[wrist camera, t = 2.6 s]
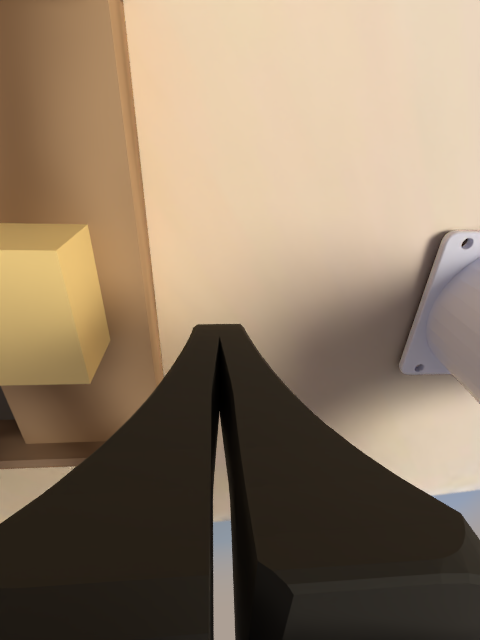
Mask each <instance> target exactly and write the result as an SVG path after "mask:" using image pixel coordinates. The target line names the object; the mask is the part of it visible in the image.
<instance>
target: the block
mask: <svg viewBox="0 0 480 640" xmlns="http://www.w3.org/2000/svg"><path fill="white" fill-rule="evenodd" d="M109 342H110V335H109V330H108V325H107V320H106V315H105V310H104V305H103V300H102V295H101V290H100V285H99V280H98V275H97V269H96V264H95V259H94V254H93V249H92V244H91V239H90V234H89V229H88V224H22V223H0V386H6V385H56V384H90V383H91V381H92V379H93V377H94V375H95V373H96V370H97V368H98V366H99V364H100V362H101V360H102V357H103V355H104V353H105V351H106V349H107V347H108V345H109Z"/></svg>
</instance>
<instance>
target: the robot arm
mask: <svg viewBox="0 0 480 640" xmlns="http://www.w3.org/2000/svg"><path fill="white" fill-rule="evenodd" d="M467 238H468V241H467V243H466V244H465V245H463V246H462V243H463V241H464V240H465V239H467ZM417 365H419V366H417ZM416 366H417V367H416ZM399 369H400V370H401V372H402V373H403V374H406V375H420V374H452V375H453V376H454V377H455V378H456V379H457V380H458V381H459V382H460V383H461V384H462V385H463V386H464V387H465V389H466V390H467V391H468V392H469V393H470V394H471V395H472V396H473V397H474V398H475V399H476V400H477V401H478V402H479V403H480V230H454V231H451V232H449V233H447V234H446V235H445V236H444V237H443V239H442V241H441V244H440V247H439V250H438V253H437V255H436V258H435V261H434V264H433V267H432V270H431V273H430V276H429V279H428V282H427V284H426V287H425V290H424V293H423V296H422V299H421V302H420V305H419V308H418V311H417V314H416V316H415V319H414V322H413V325H412V328H411V331H410V334H409V337H408V340H407V343H406V345H405V348H404V351H403V354H402V357H401V360H400V363H399ZM219 411H220V419H221V427H222V435H223V443H224V450H225V458H226V466H227V474H228V481H229V492H230V507H231V531H232V554H233V555H232V556H233V581H234V582H233V584H234V610H235V611H234V612H235V636H236V637H235V638H236V640H480V540H479V538H478V537H477V535H476V534H475V533H474V532H473V530H472V528H471V527H470V526H469V524H468V523H467V522H466V520H465V519H464V517H463V516H462V515H461V513H459V512H458V511H456V510H454V509H452V508H451V507H449V506H447V505H446V504H444V503H442V502H441V501H439V500H437V499H436V498H434V497H432V496H430V495H429V494H427V493H425V492H424V491H422V490H420V489H419V488H417V487H415V486H414V485H412V484H410V483H408V482H407V481H405V480H403V479H402V478H400V477H399V476H397V475H395V474H394V473H392V472H391V471H389V470H388V469H386V468H385V467H383V466H382V465H380V464H379V463H377V462H376V461H375V460H373V459H372V458H370V457H369V456H367V455H366V454H364V453H363V452H362V451H360V450H359V449H357V448H356V447H355V446H353V445H352V444H351V443H349V442H348V441H347V440H346V439H344V438H343V437H342V436H340V435H339V434H338V433H337V432H335V431H334V430H333V429H331V428H330V427H329V426H328V425H326V424H325V423H324V422H323V421H322V420H321V419H319V418H318V417H317V416H316V415H315V414H314V413H313V412H312V411H311V410H309V409H308V408H307V407H306V406H305V405H304V404H303V403H302V402H301V401H300V400H299V399H298V398H297V397H296V396H295V395H294V394H293V393H292V392H291V391H290V390H289V388H288V387H287V386H286V385H285V384H284V383H283V382H282V381H281V379H280V378H279V377H278V376H277V375H276V374H275V372H274V371H273V370H272V369H271V367H270V366H269V365H268V363H267V362H266V361H265V360H264V358H263V357H262V356H261V354H260V353H259V351H258V350H257V349H256V347H255V346H254V344H253V343H252V341H251V339H250V338H249V336H248V335H247V333H246V331H245V329H244V327H243V326H242V325H241V324H203V325H196V326H195V327H194V328H193V331H192V333H191V335H190V337H189V339H188V341H187V343H186V345H185V347H184V348H183V350H182V352H181V353H180V355H179V356H178V358H177V360H176V361H175V363H174V364H173V366H172V367H171V369H170V370H169V372H168V373H167V374H166V376H165V377H164V378H163V380H162V381H161V382H160V384H159V385H158V386H157V387H156V389H155V390H154V391H153V393H152V394H151V395H150V396H149V397H148V399H147V400H146V401H145V402H144V403H143V404H142V405H141V407H140V408H139V409H138V410H137V411H136V412H135V413H134V414H133V415H132V416H131V417H130V418H129V419H128V420H127V421H126V422H125V423H124V424H123V425H122V426H121V427H120V428H119V429H118V430H117V431H116V432H115V433H114V434H113V435H112V436H111V437H110V438H109V439H108V440H107V441H106V442H105V443H104V444H103V445H101V446H100V447H99V448H98V449H97V450H96V451H95V452H94V453H92V454H91V455H90V456H89V457H88V458H86V459H85V460H84V461H83V462H82V463H80V464H79V465H78V466H77V467H75V468H74V469H73V470H72V471H71V472H69V473H68V474H67V475H66V476H65V477H63V478H62V479H61V480H60V481H58V482H57V483H56V484H55V485H53V486H52V487H51V488H50V489H48V490H47V491H46V492H44V493H43V494H42V495H40V496H39V497H38V498H36V499H35V500H33V501H32V502H30V503H29V504H28V505H26V506H25V507H23V508H22V509H21V510H19V511H18V512H16V513H15V514H13V515H12V516H11V517H9V518H8V519H6V520H5V521H3V522H2V523H1V524H0V640H214V638H213V484H214V471H215V459H216V447H217V434H218V422H219Z"/></svg>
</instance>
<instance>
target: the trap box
mask: <svg viewBox="0 0 480 640" xmlns="http://www.w3.org/2000/svg"><path fill="white" fill-rule="evenodd" d="M0 223H22V224H88V229H89V234H90V239H91V244H92V249H93V254H94V259H95V264H96V269H97V275H98V280H99V285H100V290H101V295H102V300H103V305H104V310H105V315H106V320H107V325H108V330H109V335H110V342H109V345H108V347H107V349H106V351H105V353H104V355H103V357H102V360H101V362H100V364H99V366H98V368H97V370H96V373H95V375H94V377H93V379H92V381H91V383H90V384H56V385H6V386H0V469H14V468H40V467H67V466H78V465H79V464H80V463H82V462H83V461H84V460H85V459H86V458H88V457H89V456H90V455H91V454H92V453H94V452H95V451H96V450H97V449H98V448H99V447H100V446H101V445H103V444H104V443H105V442H106V441H107V440H108V439H109V438H110V437H111V436H112V435H113V434H114V433H115V432H116V431H117V430H118V429H119V428H120V427H121V426H122V425H123V424H124V423H125V422H126V421H127V420H128V419H129V418H130V417H131V416H132V415H133V414H134V413H135V412H136V411H137V410H138V409H139V408H140V407H141V405H142V404H143V403H144V402H145V401H146V400H147V399H148V397H149V396H150V395H151V394H152V393H153V391H154V390H155V389H156V387H157V386H158V385H159V384H160V382H161V381H162V380H163V378H164V377H163V368H162V359H161V350H160V340H159V331H158V322H157V313H156V303H155V294H154V285H153V275H152V266H151V257H150V248H149V238H148V229H147V220H146V211H145V201H144V192H143V183H142V173H141V164H140V155H139V146H138V136H137V127H136V118H135V109H134V99H133V90H132V81H131V72H130V62H129V53H128V44H127V34H126V25H125V16H124V7H123V0H0Z"/></svg>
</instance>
